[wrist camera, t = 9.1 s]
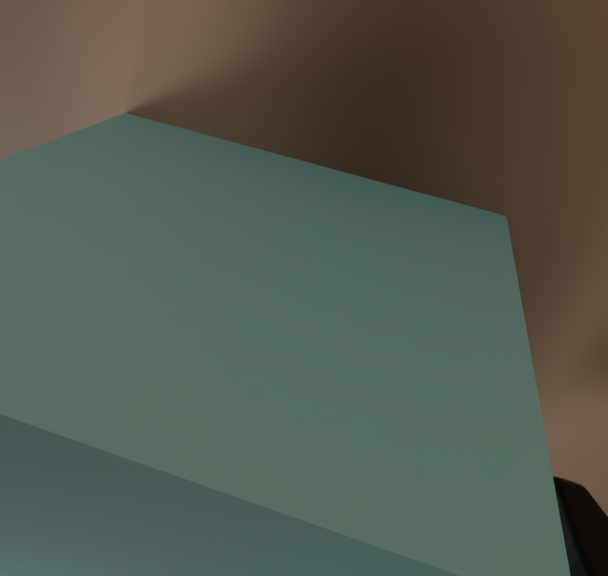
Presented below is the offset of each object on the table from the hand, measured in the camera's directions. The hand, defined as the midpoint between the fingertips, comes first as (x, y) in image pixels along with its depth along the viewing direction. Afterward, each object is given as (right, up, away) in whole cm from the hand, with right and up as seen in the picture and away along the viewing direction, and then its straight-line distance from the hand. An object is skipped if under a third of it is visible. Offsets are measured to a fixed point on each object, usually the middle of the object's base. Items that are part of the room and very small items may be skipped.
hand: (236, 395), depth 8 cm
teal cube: (+1, +1, +2) cm, 2 cm away
